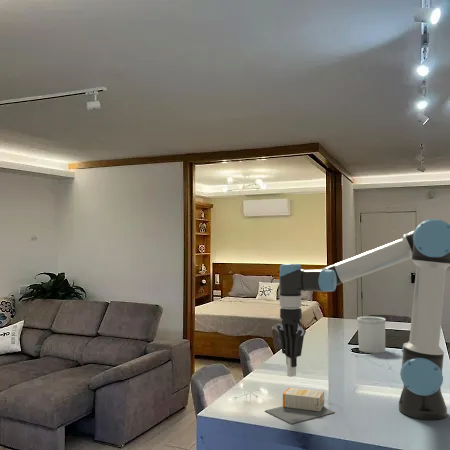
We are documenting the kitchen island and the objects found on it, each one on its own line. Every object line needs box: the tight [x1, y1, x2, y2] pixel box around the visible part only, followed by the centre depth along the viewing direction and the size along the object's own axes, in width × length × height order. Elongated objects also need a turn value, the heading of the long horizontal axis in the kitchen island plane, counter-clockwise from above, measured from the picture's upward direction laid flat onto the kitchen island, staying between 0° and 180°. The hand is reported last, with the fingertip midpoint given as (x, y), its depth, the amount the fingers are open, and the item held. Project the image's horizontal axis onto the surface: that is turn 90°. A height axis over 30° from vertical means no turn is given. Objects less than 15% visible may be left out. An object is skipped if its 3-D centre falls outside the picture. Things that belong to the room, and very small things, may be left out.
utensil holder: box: [356, 315, 386, 354], centre depth 252 cm, size 15×15×18 cm
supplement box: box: [282, 387, 325, 411], centre depth 162 cm, size 8×5×13 cm
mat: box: [264, 405, 335, 425], centre depth 157 cm, size 14×19×1 cm
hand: (291, 375), depth 161 cm, fingers closed
